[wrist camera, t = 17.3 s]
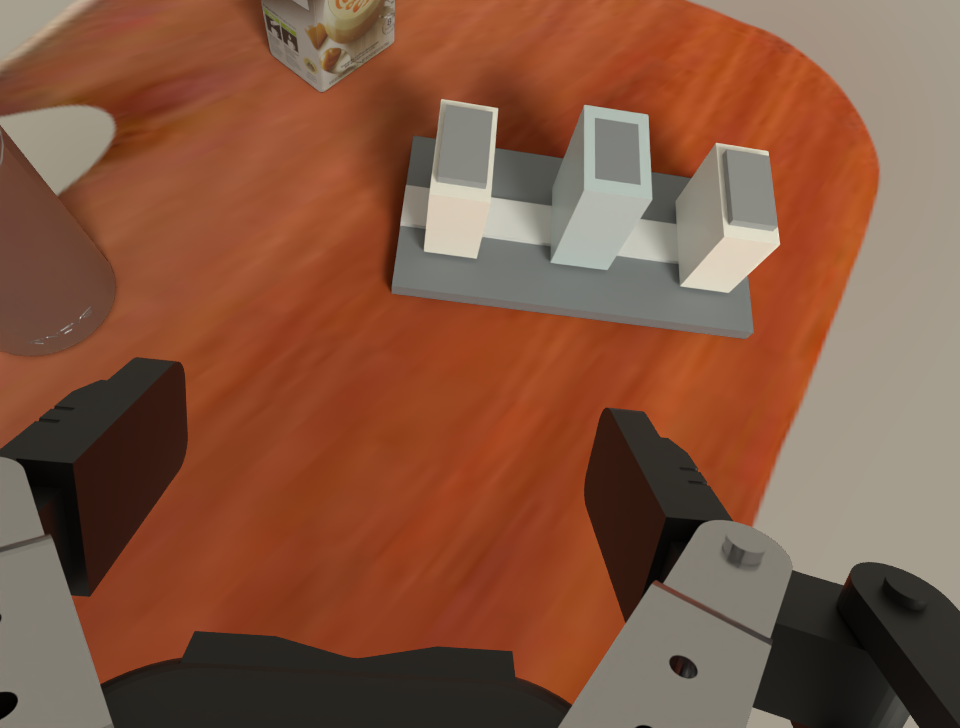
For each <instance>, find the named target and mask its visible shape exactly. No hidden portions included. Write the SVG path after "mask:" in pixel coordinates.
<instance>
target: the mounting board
mask: <svg viewBox="0 0 960 728" xmlns="http://www.w3.org/2000/svg"><path fill="white" fill-rule="evenodd" d="M435 145H436V139H434V138H427V137H420V136H414V135H413V142H412V149H411V156H410V163H409V170H408V177H407V183H406V188H405V195H404V202H403V209H402V216H401V224H400V232H399V239H398V246H397V253H396V260H395V267H394V274H393V281H392V294H400V295H408V296H415V297H423V298H431V299H439V300H446V301H454V302H462V303H470V304H478V305H485V306H493V307H501V308H509V309H516V310H524V311H532V312H540V313H548V314H555V315H563V316H571V317H579V318H586V319H594V320H602V321H610V322H618V323H625V324H633V325H641V326H649V327H656V328H664V329H672V330H680V331H688V332H695V333H703V334H711V335H719V336H726V337H734V338H742V339H746V338H747V337H749V336H750V335H751V334H753V333H754V331H753V321H752V311H751V301H750V291H749V281H748V275H747V276H746V277H745V278H744V279H743V280H742V281H741V282H740V283H739V284H738V285H737V286H736V287H735V288H733V289H732V290H731V291H730V292H729V293H726V292H718V291H711V290H704V289H696V288H689V287H682V286H680V278H679V259H678V240H677V222H676V203H675V201H676V200H677V198H678V197H679V196H680V194H681V193H682V191H683V190H684V188H685V187H686V185H687V184H688V183H689V181H690V180H691V178H688V177H681V176H675V175H668V174H662V173H655V172H651V181H652V201H651V202H650V204H649V206H648V207H647V209H646V210H645V212H644V213H643V215H642V217H641V218H640V220H639V221H638V223H637V224H636V226H635V228H634V229H633V231H632V232H631V234H630V235H629V237H628V239H627V240H626V242H625V243H624V245H623V246H622V248H621V250H620V251H619V253H618V254H617V256H616V257H615V259H614V261H613V262H612V264H611V265H610V267H609V268H608V270H602V269H594V268H586V267H579V266H571V265H563V264H555V263H550V259H551V219H552V187H553V185H554V182H555V180H556V177H557V174H558V172H559V169H560V167H561V164H562V161H563V159H564V158H557V157H551V156H544V155H538V154H531V153H525V152H518V151H512V150H505V149H499V148H495V154H494V166H493V179H492V191H491V203H490V207H489V211H488V215H487V219H486V223H485V227H484V231H483V235H482V239H481V243H480V247H479V251H478V255H477V259H475V258H468V257H461V256H453V255H446V254H438V253H431V252H424V243H425V233H426V223H427V213H428V202H429V193H430V185H431V177H432V169H433V161H434V153H435Z"/></svg>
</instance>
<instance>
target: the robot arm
mask: <svg viewBox="0 0 960 728" xmlns="http://www.w3.org/2000/svg"><path fill="white" fill-rule="evenodd" d="M115 291H116V283H115V275H114V273H113V270H112V268H111V266H110V264H109V263H108V261H107V260H106V259H105V257H104V256H103V255H102V254H101V252H100V251H99V250H98V248H97V247H96V246H95V245H94V243H93V242H92V241H91V239H90V238H89V237H88V236H87V234H86V233H85V232H84V230H83V229H82V228H81V226H80V225H79V224H78V222H77V221H76V220H75V219H74V217H73V216H72V215H71V214H70V212H69V211H68V210H67V209H66V207H65V206H64V205H63V204H62V202H61V201H60V200H59V199H58V197H57V196H56V195H55V194H54V192H53V191H52V190H51V188H50V187H49V186H48V185H47V184H46V182H45V181H44V180H43V178H42V177H41V176H40V175H39V173H38V172H37V171H36V170H35V168H34V167H33V166H32V165H31V163H30V162H29V161H28V160H27V158H26V157H25V156H24V154H23V153H22V152H21V151H20V149H19V148H18V147H17V146H16V144H15V143H14V142H13V141H12V139H11V138H10V137H9V136H8V135H7V133H6V132H5V131H4V129H3V128H2V127H1V126H0V351H3V352H7V353H10V354H14V355H22V356H38V355H47V354H51V353H55V352H58V351H62V350H65V349H67V348H69V347H71V346H73V345H75V344H77V343H79V342H81V341H82V340H83V339H85V338H86V337H88V336H89V335H91V334H92V333H93V332H94V331H95V330H96V329H97V328H98V327H99V326H100V325H101V324H102V322H103V321H104V319H105V318H106V316H107V315H108V313H109V312H110V309H111V307H112V304H113V302H114V299H115ZM187 441H188V432H187V410H186V388H185V373H184V368H183V366H182V364H181V363H180V362H176V361H166V360H157V359H147V358H138V357H136V358H134V359H132V360H131V361H130V362H129V363H127V364H126V365H125V366H124V367H123V368H122V369H120V370H119V371H118V372H117V373H116V374H115V375H113V376H112V377H111V378H110V379H109V380H99V381H97V382H94V383H92V384H90V385H87V386H85V387H82V388H80V389H77V390H75V391H73V392H71V393H70V394H69V395H68V396H66V397H65V398H64V399H63V400H61V401H60V402H59V403H58V404H56V405H55V408H54V409H50V410H49V411H48V412H46V413H45V414H44V415H43V416H41V417H40V418H39V422H37V421H35V422H34V423H33V424H31V425H30V426H29V427H28V428H26V429H25V430H24V431H23V432H21V433H20V434H19V435H18V436H16V437H15V438H14V439H13V440H11V441H10V442H9V443H8V444H6V445H5V446H4V447H3V448H1V449H0V728H746V725H747V722H748V718H749V716H750V712H751V709H752V707H754V708H756V709H759V710H762V711H766V712H768V713H771V714H774V715H777V716H780V717H783V718H786V719H789V720H790V721H791V724H792V726H793V728H903V726H904V724H905V722H906V721H907V719H908V717H909V715H911V716H912V718H913V719H914V721H915V722H916V723H917V725H918V726H919V728H960V611H959V610H958V609H957V608H956V607H955V606H954V604H953V603H952V602H951V601H950V600H949V599H948V598H947V597H946V596H945V595H943V594H942V593H941V592H940V591H939V590H937V589H936V588H935V587H933V586H932V585H930V584H929V583H927V582H926V581H924V580H922V579H921V578H919V577H917V576H915V575H913V574H911V573H909V572H906V571H904V570H902V569H899V568H896V567H893V566H889V565H886V564H881V563H874V562H866V563H860V564H857V565H855V566H854V567H853V568H852V570H851V571H850V573H849V576H848V578H847V580H846V582H845V584H844V585H840V584H837V583H833V582H829V581H826V580H823V579H820V578H816V577H813V576H809V575H806V574H802V573H800V572H796V571H793V570H792V562H791V559H790V557H789V555H788V554H787V553H786V551H785V550H784V549H783V548H782V547H781V546H780V545H779V544H778V543H777V542H776V541H774V540H773V539H772V538H770V537H769V536H767V535H765V534H763V533H762V532H760V531H758V530H756V529H754V528H752V527H749V526H747V525H744V524H741V523H737V522H733V520H732V519H731V517H730V516H729V514H728V513H727V511H726V510H725V508H724V507H723V505H722V504H721V502H720V501H719V499H718V498H717V496H716V495H715V493H714V492H713V490H712V489H711V487H710V486H708V485H707V481H706V480H705V479H704V477H703V476H702V474H701V473H700V472H698V468H697V467H696V465H695V464H694V462H693V461H692V459H691V458H690V456H689V455H688V453H687V452H685V451H684V450H683V449H681V448H680V447H679V446H678V445H676V444H675V443H674V442H672V441H671V440H670V439H668V438H662V437H660V436H659V434H658V433H657V431H656V430H655V428H654V426H653V425H652V423H651V422H650V420H649V418H648V417H647V415H646V414H645V412H643V411H634V410H625V409H615V408H605V409H604V410H603V412H602V414H601V416H600V419H599V423H598V427H597V431H596V436H595V440H594V444H593V448H592V452H591V456H590V460H589V464H588V469H587V473H586V478H585V487H584V496H585V504H586V508H587V511H588V514H589V517H590V520H591V523H592V526H593V529H594V532H595V535H596V538H597V541H598V544H599V546H600V549H601V552H602V555H603V558H604V561H605V564H606V567H607V570H608V573H609V576H610V579H611V582H612V585H613V588H614V591H615V594H616V596H617V599H618V602H619V605H620V608H621V611H622V614H623V617H624V620H625V623H626V624H625V626H624V627H623V629H622V630H621V632H620V633H619V635H618V636H617V638H616V639H615V641H614V643H613V644H612V646H611V647H610V649H609V650H608V652H607V653H606V655H605V656H604V658H603V659H602V661H601V662H600V664H599V666H598V667H597V669H596V670H595V672H594V673H593V675H592V676H591V678H590V679H589V681H588V682H587V684H586V685H585V687H584V689H583V690H582V692H581V693H580V695H579V696H578V698H577V699H576V701H575V702H574V704H573V705H571V704H570V703H568V702H567V701H565V700H564V699H563V698H561V697H560V696H558V695H556V694H554V693H552V692H550V691H549V690H547V689H545V688H543V687H541V686H538V685H536V684H534V683H531V682H529V681H526V680H523V679H520V678H517V677H515V671H514V662H513V654H512V651H499V650H483V649H468V648H452V647H431V648H425V649H418V650H411V651H405V652H398V653H392V654H385V655H379V656H372V657H366V658H350V657H345V656H342V655H338V654H335V653H331V652H328V651H325V650H321V649H318V648H314V647H311V646H307V645H304V644H300V643H297V642H294V641H290V640H287V639H283V638H280V637H276V636H263V635H247V634H231V633H215V632H200V631H195V632H194V634H193V636H192V638H191V640H190V642H189V645H188V647H187V649H186V651H185V653H184V655H183V657H182V658H177V659H171V660H166V661H162V662H158V663H154V664H150V665H147V666H144V667H141V668H138V669H135V670H132V671H129V672H127V673H124V674H122V675H120V676H117V677H115V678H113V679H110V680H108V681H106V682H104V683H102V684H100V683H99V680H98V677H97V674H96V671H95V668H94V665H93V662H92V659H91V655H90V652H89V649H88V646H87V643H86V640H85V637H84V634H83V631H82V628H81V625H80V622H79V619H78V615H77V612H76V609H75V606H74V603H73V600H72V597H71V595H74V596H89V597H90V596H91V594H92V593H93V592H94V590H95V589H96V587H97V586H98V585H99V583H100V582H101V580H102V579H103V577H104V576H105V575H106V573H107V572H108V570H109V569H110V568H111V566H112V565H113V563H114V562H115V560H116V559H117V558H118V556H119V555H120V553H121V552H122V551H123V549H124V548H125V546H126V545H127V543H128V542H129V541H130V539H131V538H132V536H133V535H134V534H135V532H136V531H137V529H138V528H139V527H140V525H141V524H142V522H143V521H144V519H145V518H146V517H147V515H148V514H149V512H150V511H151V510H152V508H153V507H154V505H155V504H156V502H157V501H158V500H159V498H160V497H161V495H162V494H163V493H164V491H165V490H166V488H167V487H168V485H169V484H170V483H171V481H172V480H173V478H174V477H175V476H176V474H177V473H178V471H179V470H180V468H181V466H182V464H183V461H184V458H185V454H186V449H187Z"/></svg>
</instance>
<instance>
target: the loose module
mask: <svg viewBox="0 0 960 728" xmlns="http://www.w3.org/2000/svg"><path fill="white" fill-rule="evenodd" d="M651 201H652V181H651V160H650V139H649V118H648V115H647V114H640V113H634V112H627V111H621V110H614V109H608V108H601V107H595V106H588V105H584V107H583V109H582V112H581V115H580V117H579V120H578V122H577V125H576V128H575V130H574V133H573V135H572V138H571V141H570V143H569V146H568V148H567V151H566V154H565V156H564V159H563V161H562V164H561V167H560V169H559V172H558V174H557V177H556V180H555V182H554V185H553V187H552V219H551V259H550V263H555V264H563V265H571V266H579V267H586V268H594V269H602V270H608V268H609V267H610V265H611V264H612V262H613V261H614V259H615V257H616V256H617V254H618V253H619V251H620V250H621V248H622V246H623V245H624V243H625V242H626V240H627V239H628V237H629V235H630V234H631V232H632V231H633V229H634V228H635V226H636V224H637V223H638V221H639V220H640V218H641V217H642V215H643V213H644V212H645V210H646V209H647V207H648V206H649V204H650V202H651Z"/></svg>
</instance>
